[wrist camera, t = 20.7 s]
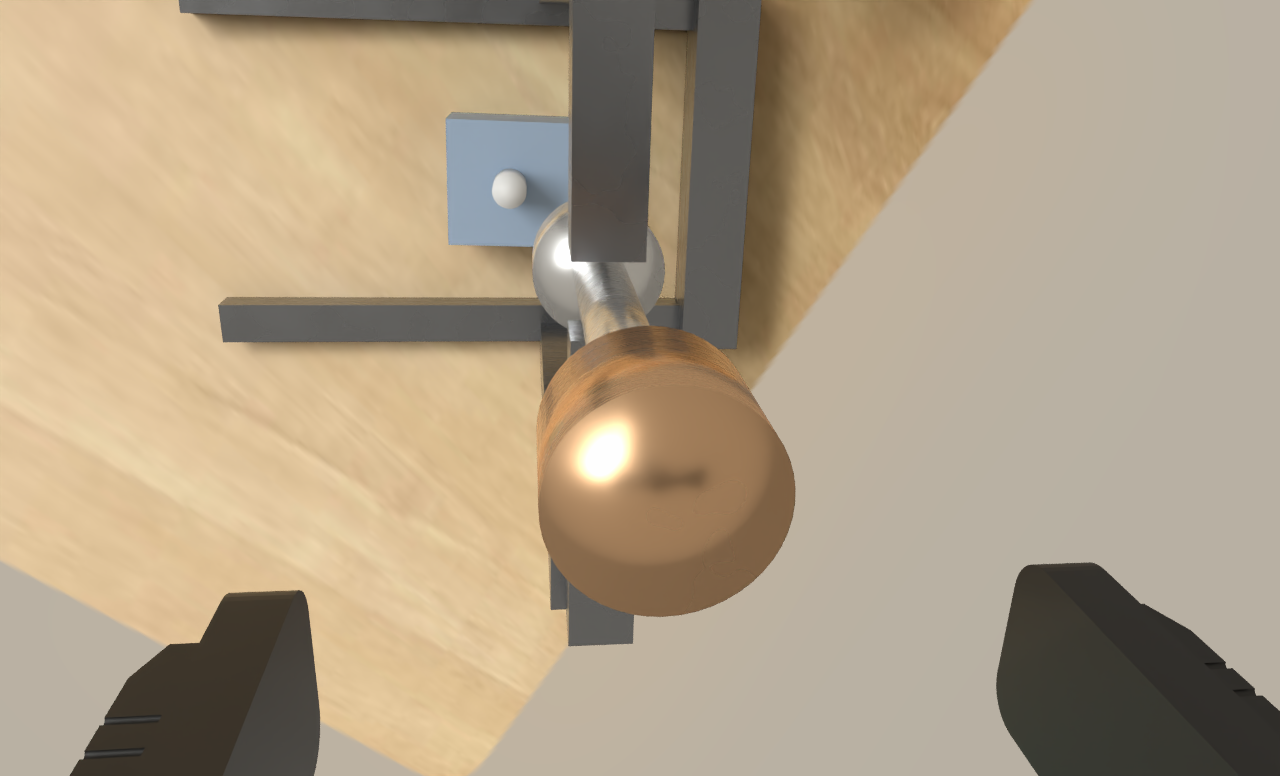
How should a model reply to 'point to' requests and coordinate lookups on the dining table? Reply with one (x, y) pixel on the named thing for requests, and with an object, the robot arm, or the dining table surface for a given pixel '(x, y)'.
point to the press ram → (649, 446)
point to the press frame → (576, 194)
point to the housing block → (504, 176)
